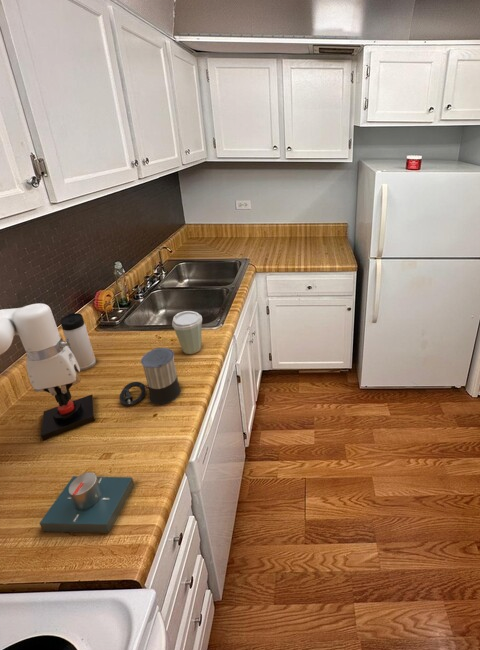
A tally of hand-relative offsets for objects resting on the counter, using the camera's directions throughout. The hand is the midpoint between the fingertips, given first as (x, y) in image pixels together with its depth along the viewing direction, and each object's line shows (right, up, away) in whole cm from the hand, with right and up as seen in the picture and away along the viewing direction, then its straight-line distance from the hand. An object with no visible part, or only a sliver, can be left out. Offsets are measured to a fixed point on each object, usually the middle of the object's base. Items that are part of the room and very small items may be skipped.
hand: (65, 402), depth 94 cm
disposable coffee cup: (+24, +6, +33) cm, 41 cm away
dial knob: (+21, -12, -21) cm, 33 cm away
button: (0, -3, +1) cm, 3 cm away
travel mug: (-11, +3, +24) cm, 27 cm away
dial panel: (+21, -15, -20) cm, 33 cm away
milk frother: (+19, -3, +11) cm, 22 cm away
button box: (0, -6, +2) cm, 6 cm away
